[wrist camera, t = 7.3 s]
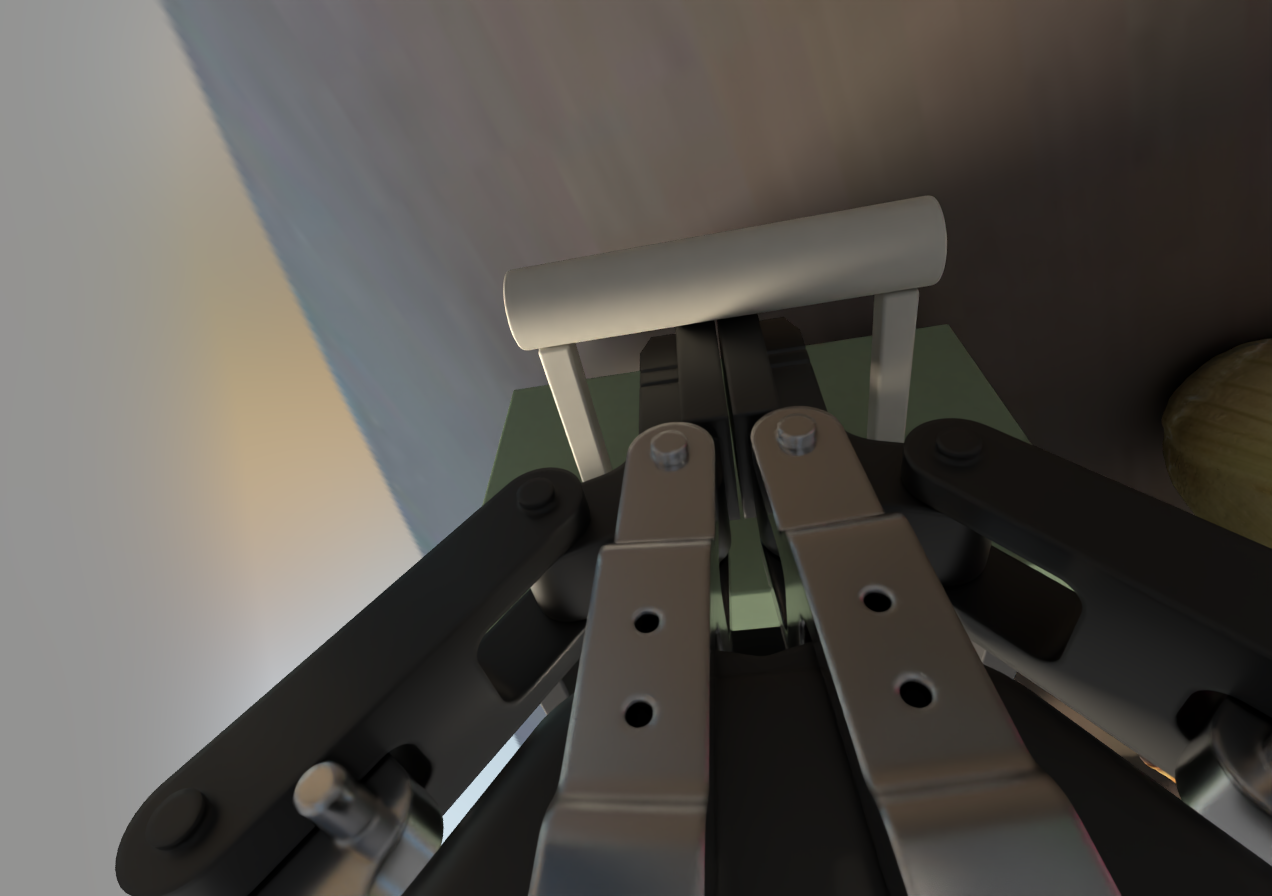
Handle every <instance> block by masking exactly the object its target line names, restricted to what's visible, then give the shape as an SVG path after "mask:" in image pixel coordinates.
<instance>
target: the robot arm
mask: <svg viewBox="0 0 1272 896" xmlns="http://www.w3.org/2000/svg"><path fill="white" fill-rule="evenodd" d="M717 326H718V335H719V343H720V352H721V361H722V369H723V375H722V369H721V362H720V355H719V349H718V342H717V335H716V328H715V322H714V320H713V321H707V322H700V323H694V324H688V325H682V326H676V334H669V335H663V336H656V337H651V338H650V340H649V341H648V343H647V344H646V346H645V347H644V349H643V350H642V352H641V353H640V389H639V435H638V436H637V437H636V438H635V439H634V440H633V442H632V443H631V444H630V446H629V448H628V452H627V457H626V461H625V462H624V463H623V464H621V465H620V466H619V467H617V468H615V469H614V470H612V471H610V472H608V473H606V474H603V475H601V476H598V477H595V478H593V479H590V480H587V481H585V482H582V483H581V482H580V480H579V479H578V477H577V476H576V475H575V474H573V473H572V472H570V471H568V470H565V469H562V468H555V467H547V468H540V469H535V470H532V471H529V472H526V473H524V474H522V475H520V476H518V477H517V478H515V479H513V480H512V481H511V482H510V483H508V484H507V485H506V486H505V487H504V488H503V489H501V490H500V491H499V492H498V493H497V494H496V495H494V496H493V497H492V498H491V499H490V500H489V501H488V502H486V503H485V504H484V505H483V506H482V507H481V508H479V509H478V510H477V511H476V512H475V513H474V514H473V515H471V516H470V517H469V518H468V519H467V520H466V521H464V522H463V523H462V524H461V525H460V526H459V527H458V528H456V529H455V530H454V531H453V532H452V533H451V534H449V535H448V536H447V537H446V538H445V539H444V540H443V541H441V542H440V543H439V544H438V545H437V546H436V547H435V548H433V549H432V550H431V551H430V552H429V553H428V554H426V555H425V556H424V557H423V558H422V559H421V560H420V561H419V562H417V563H416V564H415V565H414V566H413V567H411V568H410V569H409V570H408V571H407V572H406V573H405V574H403V575H402V576H401V577H400V578H399V579H398V580H397V581H395V582H394V583H393V584H392V585H391V586H390V587H388V588H387V589H386V590H385V591H384V592H383V593H382V594H380V595H379V596H378V597H377V598H376V599H375V600H374V601H372V602H371V603H370V604H369V605H368V606H367V607H365V608H364V609H363V610H362V611H361V612H360V613H359V614H357V615H356V616H355V617H354V618H353V619H352V620H350V621H349V622H348V623H347V624H346V625H345V626H343V627H342V628H341V629H340V630H339V631H338V632H337V633H336V634H335V635H333V636H332V637H331V638H330V639H328V640H327V641H326V642H325V643H324V644H323V645H322V646H320V647H319V648H318V649H317V650H316V651H315V652H314V653H312V654H311V655H310V656H309V657H308V658H307V659H305V660H304V661H303V662H302V663H301V664H300V665H299V666H297V667H296V668H295V669H294V670H293V671H292V672H290V673H289V674H288V675H287V676H286V677H285V678H284V679H282V680H281V681H280V682H279V683H278V684H277V685H275V686H274V687H273V688H272V689H271V690H270V691H269V692H267V694H265V695H264V696H263V697H262V698H260V699H259V700H258V701H257V702H256V703H255V704H254V705H253V706H251V707H250V708H249V709H248V710H247V711H246V712H244V713H243V714H242V715H241V716H240V717H239V718H238V719H236V720H235V721H234V722H233V723H232V724H231V725H229V726H228V727H227V728H226V729H225V730H224V731H222V732H221V733H220V734H219V735H218V736H217V737H215V738H214V739H213V740H212V741H211V742H210V743H209V744H207V745H206V746H205V747H204V748H203V749H202V750H200V751H199V752H198V753H197V754H196V755H195V756H194V757H192V758H191V759H190V760H189V761H188V762H187V763H186V764H184V765H183V766H182V767H181V768H180V769H179V770H177V772H175V773H174V774H173V775H172V776H171V777H169V778H168V779H167V780H166V781H165V782H164V783H162V784H161V785H160V786H159V787H158V788H157V789H156V790H155V791H154V792H153V793H152V794H151V795H150V796H149V797H148V799H147V800H146V801H145V802H144V803H143V804H142V806H141V807H140V808H139V810H138V811H137V812H136V813H135V815H134V817H133V818H132V820H131V822H130V823H129V825H128V826H127V829H126V831H125V833H124V835H123V837H122V839H121V842H120V845H119V848H118V852H117V856H116V865H115V866H116V867H115V871H116V877H117V881H118V883H119V885H120V887H121V888H122V889H123V890H124V891H125V892H126V893H127V894H129V895H131V896H1272V549H1271V548H1269V547H1267V546H1264V545H1262V544H1260V543H1257V542H1255V541H1253V540H1250V539H1248V538H1246V537H1244V536H1241V535H1239V534H1237V533H1234V532H1232V531H1230V530H1227V529H1225V528H1223V527H1220V526H1218V525H1216V524H1214V523H1211V522H1209V521H1207V520H1204V519H1202V518H1200V517H1197V516H1195V515H1193V514H1190V513H1188V512H1186V511H1184V510H1181V509H1179V508H1177V507H1174V506H1172V505H1170V504H1167V503H1165V502H1163V501H1160V500H1158V499H1156V498H1154V497H1151V496H1149V495H1147V494H1144V493H1142V492H1140V491H1137V490H1135V489H1133V488H1130V487H1128V486H1126V485H1124V484H1121V483H1119V482H1117V481H1114V480H1112V479H1110V478H1107V477H1105V476H1103V475H1100V474H1098V473H1096V472H1094V471H1091V470H1089V469H1087V468H1084V467H1082V466H1080V465H1077V464H1075V463H1073V462H1070V461H1068V460H1066V459H1064V458H1061V457H1059V456H1057V455H1054V454H1052V453H1050V452H1047V451H1045V450H1043V449H1040V448H1038V447H1036V446H1034V445H1031V444H1029V443H1027V442H1024V441H1022V440H1020V439H1017V438H1015V437H1013V436H1010V435H1008V434H1006V433H1004V432H1001V431H999V430H997V429H994V428H992V427H990V426H987V425H985V424H982V423H979V422H976V421H972V420H967V419H960V418H942V419H936V420H931V421H928V422H925V423H923V424H920V425H919V426H917V427H915V428H914V429H913V430H912V431H911V432H910V433H909V434H908V435H907V437H906V439H905V442H904V443H899V442H889V441H878V440H871V439H866V438H862V437H859V436H856V435H853V434H851V433H849V432H847V431H845V430H844V428H843V426H842V424H841V423H840V421H839V420H838V419H837V418H836V417H835V416H833V415H832V414H830V413H828V411H827V408H826V406H825V403H824V400H823V397H822V394H821V391H820V388H819V385H818V382H817V379H816V376H815V373H814V370H813V367H812V364H811V363H810V358H809V355H808V352H807V349H806V347H805V343H804V341H803V338H802V335H801V332H800V329H798V328H797V327H796V326H794V325H793V324H792V323H791V322H789V321H788V320H787V319H786V318H784V317H780V318H774V319H767V320H761V321H759V318H758V314H757V313H756V314H750V315H744V316H738V317H732V318H725V319H719V320H717ZM723 377H724V382H723ZM724 385H725V389H724ZM725 393H726V396H725ZM726 400H727V402H726ZM727 407H728V409H727ZM728 413H729V416H728ZM729 420H730V424H729ZM730 427H731V433H732V440H733V447H734V453H735V460H736V467H737V473H738V480H739V487H740V494H741V500H742V507H743V514H744V519H747V518H756V517H757V523H758V529H759V536H760V547H761V556H762V560H763V564H764V568H765V571H766V575H767V579H768V583H769V586H770V590H771V594H772V598H773V601H774V605H775V609H776V613H777V616H778V620H779V624H780V628H781V631H782V635H783V639H784V643H785V647H786V650H784V651H781V652H778V653H775V654H772V655H768V656H753V655H747V654H740V653H733V642H732V601H731V560H730V553H729V550H730V547H731V530H730V522H729V521H731V520H740V511H739V503H738V494H737V485H736V477H735V468H734V459H733V450H732V442H731V433H730ZM992 541H993V542H995V543H997V544H998V545H1000V546H1002V547H1004V548H1006V549H1007V550H1009V551H1011V552H1013V553H1015V554H1016V555H1018V556H1020V557H1022V558H1024V559H1025V560H1027V561H1029V562H1031V563H1033V564H1034V565H1036V566H1038V567H1040V568H1042V569H1043V570H1045V571H1047V572H1049V573H1051V574H1052V575H1054V576H1056V577H1058V578H1059V579H1061V580H1062V581H1064V582H1065V583H1066V584H1068V585H1069V586H1070V587H1071V588H1072V589H1073V590H1074V591H1075V592H1074V591H1073V590H1071V589H1069V588H1067V587H1065V586H1064V585H1062V584H1060V583H1058V582H1057V581H1055V580H1053V579H1051V578H1049V577H1048V576H1046V575H1044V574H1042V573H1041V572H1039V571H1037V570H1035V569H1033V568H1032V567H1030V566H1028V565H1026V564H1024V563H1023V562H1021V561H1019V560H1017V559H1016V558H1014V557H1012V556H1010V555H1008V554H1007V553H1005V552H1003V551H1001V550H1000V549H998V548H996V547H994V546H992V545H991V544H992ZM504 614H505V615H504ZM503 615H504V616H503ZM502 616H503V617H502ZM501 617H502V618H501ZM500 618H501V619H500ZM499 619H500V620H499ZM498 620H499V621H498ZM497 621H498V622H497ZM496 622H497V623H496ZM495 623H496V624H495ZM494 624H495V625H494ZM493 625H494V626H493ZM492 626H493V627H492ZM491 627H492V628H491ZM490 628H491V629H490ZM489 629H490V630H489ZM488 630H489V631H488ZM487 631H488V632H487ZM486 632H487V633H486ZM971 641H973V642H974V643H976V644H977V645H979V646H980V647H982V648H983V649H985V650H986V651H988V652H989V653H991V654H992V655H993V656H995V657H996V658H998V659H999V660H1001V661H1002V662H1004V663H1005V664H1007V665H1008V666H1010V667H1011V668H1013V669H1014V670H1016V671H1017V672H1019V673H1020V674H1021V675H1023V676H1024V677H1026V678H1027V679H1029V680H1030V681H1032V682H1033V683H1035V684H1036V685H1038V686H1039V687H1041V688H1042V689H1044V690H1045V691H1046V692H1048V693H1049V694H1051V695H1052V696H1054V697H1055V698H1057V699H1058V700H1060V701H1061V702H1063V703H1064V704H1066V705H1067V706H1069V707H1070V708H1071V709H1073V710H1074V711H1076V712H1077V713H1079V714H1080V715H1082V716H1083V717H1085V718H1086V719H1088V720H1089V721H1091V722H1092V723H1094V724H1095V725H1096V726H1098V727H1099V728H1101V729H1102V730H1104V731H1105V732H1107V733H1108V734H1110V735H1111V736H1113V737H1114V738H1116V739H1117V740H1119V741H1120V742H1122V743H1123V744H1124V745H1126V746H1127V747H1129V748H1130V749H1132V750H1133V751H1135V752H1136V753H1138V754H1139V755H1141V756H1142V757H1144V758H1145V759H1147V760H1148V761H1149V762H1151V763H1152V764H1154V765H1155V766H1157V767H1158V768H1160V769H1161V770H1163V771H1164V772H1166V773H1167V774H1169V775H1170V776H1172V777H1173V778H1174V779H1175V781H1176V785H1177V789H1178V792H1179V795H1180V797H1181V799H1182V800H1180V799H1179V798H1178V797H1176V796H1175V795H1174V794H1172V793H1171V792H1169V791H1168V790H1167V789H1165V788H1164V787H1163V786H1161V785H1160V784H1158V783H1157V782H1156V781H1154V780H1153V779H1152V778H1150V777H1149V776H1147V775H1146V774H1145V773H1143V772H1142V771H1141V770H1139V769H1138V768H1136V767H1135V766H1134V765H1132V764H1131V763H1130V762H1128V761H1127V760H1125V759H1124V758H1123V757H1121V756H1120V755H1119V754H1117V753H1116V752H1115V751H1113V750H1112V749H1110V748H1109V747H1108V746H1106V745H1105V744H1104V743H1102V742H1101V741H1099V740H1098V739H1097V738H1095V737H1094V736H1093V735H1091V734H1090V733H1088V732H1087V731H1086V730H1084V729H1083V728H1082V727H1080V726H1079V725H1077V724H1076V723H1075V722H1073V721H1072V720H1071V719H1069V718H1068V717H1067V716H1065V715H1064V714H1062V713H1061V712H1060V711H1058V710H1057V709H1056V708H1054V707H1053V706H1051V705H1050V704H1049V703H1047V702H1046V701H1045V700H1043V699H1042V698H1040V697H1039V696H1038V695H1036V694H1035V693H1034V692H1032V691H1031V690H1029V689H1028V688H1026V687H1025V686H1023V685H1022V684H1020V683H1019V682H1017V681H1015V680H1013V679H1012V678H1010V677H1008V676H1007V675H1005V674H1003V673H1001V672H999V671H997V670H995V669H993V668H991V667H989V666H986V665H984V664H983V663H982V661H981V659H980V657H979V655H978V654H977V652H976V650H975V648H974V646H973V644H972V642H971ZM579 658H580V663H579V669H578V675H577V681H576V687H575V693H573V694H572V695H570V696H569V697H568V698H566V699H565V700H564V701H563V702H561V703H560V704H559V705H557V706H556V707H555V708H554V709H553V710H552V711H551V712H550V713H549V714H548V715H547V716H546V717H545V718H544V719H543V720H542V721H541V722H540V724H539V725H538V726H537V727H536V728H535V729H534V731H533V732H532V733H531V734H530V736H529V737H528V738H527V739H526V741H525V742H524V743H523V744H522V746H521V747H520V748H519V749H518V751H517V752H516V753H515V754H514V756H513V757H512V758H511V759H510V761H509V762H508V763H507V764H506V766H505V767H504V768H503V769H502V771H501V772H500V773H499V774H498V776H497V777H496V778H495V779H494V780H493V782H492V783H491V784H490V786H489V787H488V788H487V789H486V791H485V792H484V793H483V794H482V796H481V797H480V798H479V799H478V801H477V802H476V803H475V805H473V807H472V808H471V809H470V810H469V812H468V813H467V814H466V816H465V817H464V818H463V819H462V820H461V822H460V823H459V824H458V825H457V827H456V828H455V829H454V830H453V832H452V833H451V834H450V835H449V837H448V838H447V839H446V840H445V842H444V843H443V844H442V845H441V843H442V838H443V818H442V816H443V815H444V814H445V813H446V812H447V810H448V809H449V808H450V807H451V806H452V805H453V803H454V802H455V801H456V800H457V799H458V798H459V797H460V795H461V794H462V793H463V792H464V791H465V790H466V789H467V787H468V786H469V785H470V784H471V783H472V782H473V780H474V779H475V778H476V777H477V776H478V775H479V773H480V772H481V771H482V770H483V769H484V768H485V767H486V765H487V764H488V763H489V762H490V761H491V760H492V759H493V757H494V756H495V755H496V754H497V753H498V752H499V750H500V749H501V748H502V747H503V746H504V744H506V742H507V741H508V740H509V739H510V738H511V737H512V736H513V734H514V733H515V732H516V731H517V730H518V729H519V727H520V726H521V725H522V724H523V723H524V722H525V721H526V719H527V718H528V717H529V716H530V715H531V714H532V713H533V711H534V710H535V709H536V708H537V707H538V706H539V704H540V703H541V702H542V701H543V700H544V699H545V698H546V696H547V695H548V694H549V693H550V692H551V691H552V690H553V688H554V687H555V686H556V685H557V684H558V683H559V681H560V680H561V679H562V678H563V677H564V676H565V675H566V673H567V672H568V671H569V670H570V669H571V668H572V666H573V665H574V664H575V663H576V662H577V661H578V660H579Z"/></svg>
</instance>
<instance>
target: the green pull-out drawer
mask: <svg viewBox="0 0 1272 896" xmlns="http://www.w3.org/2000/svg"><path fill="white" fill-rule="evenodd" d="M946 255H947V233H946V225H945V220H944V216H943V212H942V209H941V207H940V204H939V203H938V201H937V200H936V198H934V197H933V196H929V195H926V196H920V197H915V198H909V199H904V200H898V201H893V202H887V203H881V204H876V205H870V206H865V207H859V208H853V209H848V210H842V211H837V212H831V213H826V214H820V215H814V216H809V217H803V218H798V219H792V220H786V221H781V222H775V223H770V224H764V225H759V226H753V227H747V228H742V229H736V230H731V231H725V232H719V233H714V234H708V235H703V236H697V237H692V238H686V239H680V240H675V241H669V242H664V243H658V244H652V245H647V246H641V247H636V248H630V249H625V250H619V251H613V252H608V253H602V254H597V255H591V256H585V257H580V258H574V259H569V260H563V261H558V262H552V263H546V264H541V265H535V266H530V267H524V268H518V269H513V270H510V271H508V272H507V273H506V275H505V278H504V287H503V293H504V304H505V310H506V315H507V319H508V323H509V326H510V329H511V332H512V334H513V336H514V339H515V340H516V342H517V344H518V345H519V347H520V348H521V349H523V350H533V349H539V356H540V359H541V362H542V365H543V368H544V371H545V374H546V376H547V379H548V382H549V385H545V386H538V387H532V388H525V389H519V390H514V391H513V395H512V398H511V402H510V406H509V409H508V413H507V417H506V420H505V424H504V428H503V432H502V435H501V439H500V443H499V446H498V450H497V454H496V457H495V461H494V465H493V468H492V472H491V476H490V479H489V483H488V487H487V490H486V494H485V498H484V501H483V505H484V504H485V503H486V502H488V501H489V500H490V499H491V498H492V497H493V496H494V495H496V494H497V493H498V492H499V491H500V490H501V489H503V488H504V487H505V486H506V485H507V484H508V483H510V482H511V481H512V480H513V479H515V478H517V477H518V476H520V475H522V474H524V473H526V472H529V471H532V470H535V469H540V468H547V467H555V468H562V469H565V470H568V471H570V472H572V473H573V474H575V475H576V476H577V477H578V479H579V480H580V482H581V483H582V482H585V481H587V480H590V479H593V478H595V477H598V476H601V475H603V474H606V473H608V472H610V471H612V470H614V469H615V468H617V467H619V466H620V465H621V464H623V463H624V462H625V461H626V457H627V452H628V448H629V446H630V444H631V443H632V442H633V440H634V439H635V438H636V437H637V436H638V435H639V389H640V371H636V372H630V373H623V374H617V375H610V376H604V377H597V378H591V379H586V378H585V374H584V371H583V367H582V364H581V361H580V357H579V354H578V350H577V347H576V344H575V343H576V342H582V341H589V340H595V339H601V338H607V337H613V336H620V335H626V334H632V333H638V332H645V331H651V330H657V329H663V328H669V327H676V326H682V325H688V324H694V323H700V322H707V321H713V320H719V319H725V318H732V317H738V316H744V315H750V314H756V313H763V312H769V311H775V310H781V309H788V308H794V307H800V306H806V305H812V304H819V303H825V302H831V301H837V300H843V299H850V298H856V297H862V296H868V295H874V314H873V333H872V336H866V337H859V338H853V339H846V340H840V341H833V342H827V343H820V344H813V345H807V346H805V347H806V349H807V352H808V355H809V358H810V363H811V364H812V367H813V370H814V373H815V376H816V379H817V382H818V385H819V388H820V391H821V394H822V397H823V400H824V403H825V406H826V408H827V411H828V413H830V414H832V415H833V416H835V417H836V418H837V419H838V420H839V421H840V423H841V424H842V426H843V428H844V430H845V431H847V432H849V433H851V434H853V435H856V436H859V437H862V438H866V439H871V440H878V441H889V442H899V443H904V442H905V439H906V437H907V435H908V434H909V433H910V432H911V431H912V430H913V429H914V428H915V427H917V426H919V425H920V424H923V423H925V422H928V421H931V420H936V419H942V418H960V419H967V420H972V421H976V422H979V423H982V424H985V425H987V426H990V427H992V428H994V429H997V430H999V431H1001V432H1004V433H1006V434H1008V435H1010V436H1013V437H1015V438H1017V439H1020V440H1022V441H1024V442H1027V443H1029V444H1031V443H1030V441H1029V440H1028V438H1027V437H1026V435H1025V434H1024V433H1023V431H1022V430H1021V428H1020V427H1019V425H1018V424H1017V422H1016V421H1015V420H1014V418H1013V417H1012V415H1011V414H1010V412H1009V411H1008V409H1007V408H1006V407H1005V405H1004V404H1003V402H1002V401H1001V399H1000V398H999V397H998V395H997V394H996V392H995V391H994V389H993V388H992V386H991V385H990V384H989V382H988V381H987V379H986V378H985V376H984V375H983V374H982V372H981V371H980V369H979V368H978V366H977V365H976V363H975V362H974V361H973V359H972V358H971V356H970V355H969V353H968V352H967V350H966V349H965V348H964V346H963V345H962V343H961V342H960V340H959V339H958V338H957V336H956V335H955V333H954V332H953V330H952V329H951V327H950V326H949V325H948V324H945V325H938V326H931V327H925V328H918V329H916V320H917V310H918V301H919V290H918V289H917V288H918V287H924V286H930V285H934V284H936V283H937V282H938V281H939V280H940V278H941V276H942V274H943V271H944V267H945V262H946ZM720 362H721V369H722V361H721V359H720ZM722 375H723V369H722ZM723 382H724V377H723ZM724 389H725V385H724ZM725 396H726V393H725ZM726 402H727V400H726ZM727 409H728V407H727ZM728 416H729V413H728ZM729 424H730V420H729ZM730 433H731V427H730ZM731 442H732V450H733V459H734V468H735V477H736V485H737V494H738V503H739V511H740V520H731V521H729V522H730V530H731V547H730V550H729V553H730V560H731V601H732V642H733V653H740V654H747V655H753V656H768V655H772V654H775V653H778V652H781V651H784V650H786V647H785V643H784V639H783V635H782V631H781V628H780V624H779V620H778V616H777V613H776V609H775V605H774V601H773V598H772V594H771V590H770V586H769V583H768V579H767V575H766V571H765V568H764V564H763V560H762V556H761V547H760V536H759V529H758V523H757V517H756V518H747V519H744V514H743V507H742V500H741V494H740V487H739V480H738V473H737V467H736V460H735V453H734V447H733V440H732V433H731ZM1031 445H1032V444H1031ZM483 505H482V506H483ZM991 545H992V546H994V547H996V548H998V549H1000V550H1001V551H1003V552H1005V553H1007V554H1008V555H1010V556H1012V557H1014V558H1016V559H1017V560H1019V561H1021V562H1023V563H1024V564H1026V565H1028V566H1030V567H1032V568H1033V569H1035V570H1037V571H1039V572H1041V573H1042V574H1044V575H1046V576H1048V577H1049V578H1051V579H1053V580H1055V581H1057V582H1058V583H1060V584H1062V585H1064V586H1065V587H1067V588H1069V589H1071V590H1073V589H1072V588H1071V587H1070V586H1069V585H1068V584H1066V583H1065V582H1064V581H1062V580H1061V579H1059V578H1058V577H1056V576H1054V575H1052V574H1051V573H1049V572H1047V571H1045V570H1043V569H1042V568H1040V567H1038V566H1036V565H1034V564H1033V563H1031V562H1029V561H1027V560H1025V559H1024V558H1022V557H1020V556H1018V555H1016V554H1015V553H1013V552H1011V551H1009V550H1007V549H1006V548H1004V547H1002V546H1000V545H998V544H997V543H995V542H993V541H992V544H991ZM1073 591H1074V590H1073ZM1074 592H1075V591H1074ZM504 615H505V614H504ZM504 615H503V616H504ZM503 616H502V617H503ZM502 617H501V618H502ZM501 618H500V619H501ZM500 619H499V620H500ZM499 620H498V621H499ZM498 621H497V622H498ZM497 622H496V623H497ZM496 623H495V624H496ZM495 624H494V625H495ZM494 625H493V626H494ZM493 626H492V627H493ZM492 627H491V628H492ZM491 628H490V629H491ZM490 629H489V630H490ZM489 630H488V631H489ZM488 631H487V632H488ZM487 632H486V633H487ZM971 642H972V644H973V646H974V648H975V650H976V652H977V654H978V655H979V657H980V659H981V661H982V663H983V664H984V665H986V666H989V667H991V668H993V669H995V670H997V671H999V672H1001V673H1003V674H1005V675H1007V676H1008V677H1010V678H1012V679H1013V680H1014V677H1015V674H1016V672H1017V671H1016V670H1014V669H1013V668H1011V667H1010V666H1008V665H1007V664H1005V663H1004V662H1002V661H1001V660H999V659H998V658H996V657H995V656H993V655H992V654H991V653H989V652H988V651H986V650H985V649H983V648H982V647H980V646H979V645H977V644H976V643H974V642H973V641H971ZM579 663H580V658H579V660H578V661H577V662H576V663H575V664H574V665H573V666H572V668H571V669H570V670H569V671H568V672H567V673H566V675H565V676H564V677H563V678H562V679H561V680H560V681H559V683H558V684H557V685H556V686H555V687H554V688H553V690H552V691H551V692H550V693H549V694H548V695H547V696H546V698H545V699H544V700H543V701H542V702H541V703H540V704H541V706H542V707H543V709H544V711H545V713H546V714H547V715H548V714H549V713H550V712H551V711H552V710H553V709H554V708H555V707H556V706H557V705H559V704H560V703H561V702H563V701H564V700H565V699H566V698H568V697H569V696H570V695H572V694H573V693H575V687H576V681H577V675H578V669H579Z"/></svg>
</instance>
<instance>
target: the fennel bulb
mask: <svg viewBox="0 0 1272 896" xmlns="http://www.w3.org/2000/svg"><path fill="white" fill-rule="evenodd" d="M1162 425H1163V428H1164V439H1163V455H1164V459H1165V464H1166V468H1167V471H1168V473H1169V476H1170V479H1171V481H1172V484H1173V485H1174V487H1175V488H1176V490H1177V491H1178V493H1179V494H1180V496H1181V497H1182V498H1183V500H1184V501H1185V503H1186V504H1187V506H1189V508H1190V509H1191V510H1192V511H1193V513H1194V514H1195V515H1196V516H1197V517H1200V518H1202V519H1204V520H1207V521H1209V522H1211V523H1214V524H1216V525H1218V526H1220V527H1223V528H1225V529H1227V530H1230V531H1232V532H1234V533H1237V534H1239V535H1241V536H1244V537H1246V538H1248V539H1250V540H1253V541H1255V542H1257V543H1260V544H1262V545H1264V546H1267V547H1269V548H1271V549H1272V339H1262V340H1257V341H1253V342H1248V343H1244V344H1241V345H1239V346H1236V347H1234V348H1232V349H1231V350H1229V351H1227V352H1225V353H1222V354H1219V355H1217V356H1215V357H1214V358H1212V359H1211V360H1209V361H1208V362H1206V363H1205V364H1204V365H1202V366H1201V367H1200V368H1199V369H1198V370H1196V371H1195V372H1194V373H1193V374H1191V375H1190V376H1188V377H1187V378H1186V379H1185V381H1184V382H1183V383H1182V384H1181V385H1180V386H1179V387H1178V388H1177V389H1176V390H1175V392H1174V393H1173V394H1172V396H1171V397H1170V398H1169V400H1168V404H1167V406H1166V409H1165V411H1164V413H1163V417H1162Z"/></svg>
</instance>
